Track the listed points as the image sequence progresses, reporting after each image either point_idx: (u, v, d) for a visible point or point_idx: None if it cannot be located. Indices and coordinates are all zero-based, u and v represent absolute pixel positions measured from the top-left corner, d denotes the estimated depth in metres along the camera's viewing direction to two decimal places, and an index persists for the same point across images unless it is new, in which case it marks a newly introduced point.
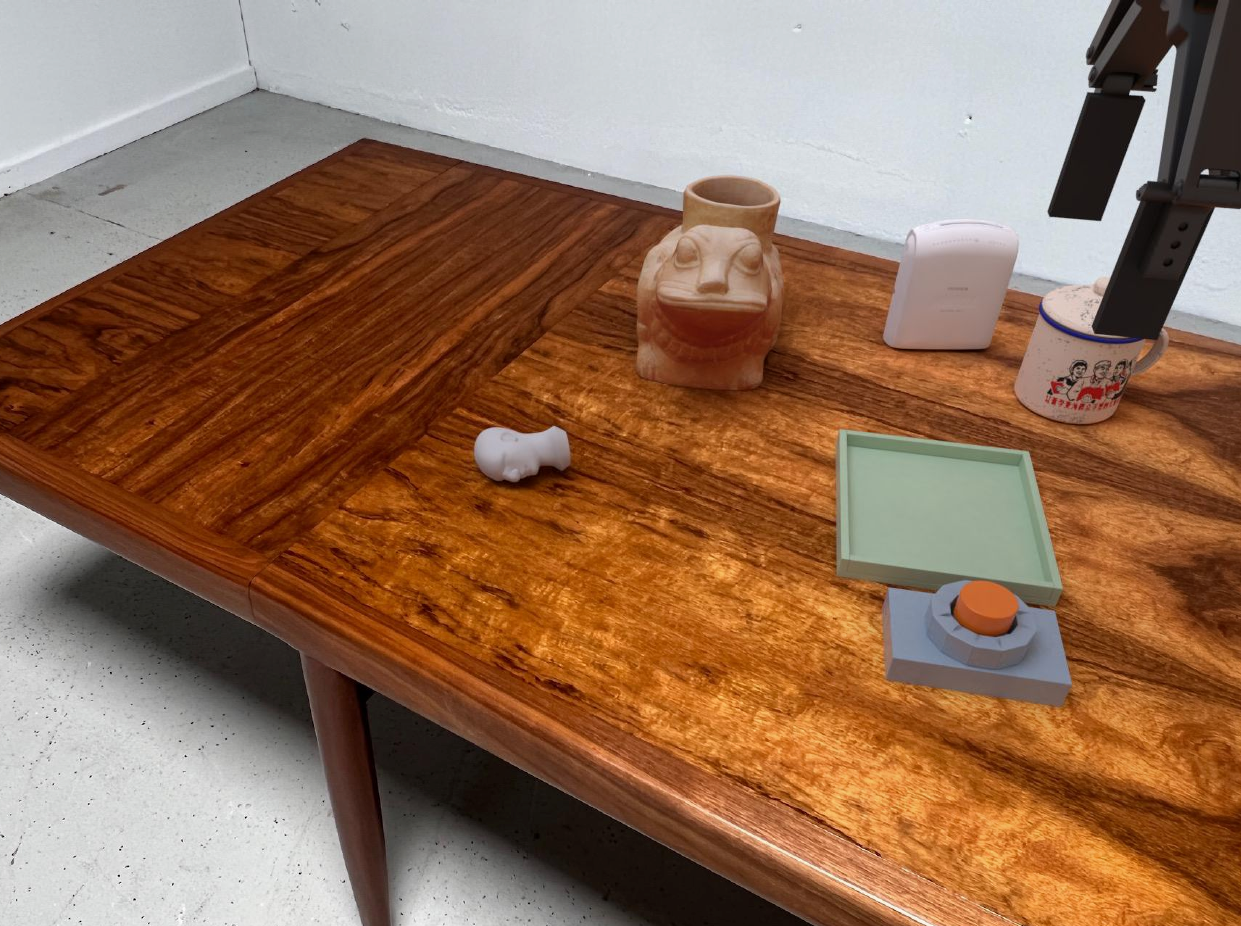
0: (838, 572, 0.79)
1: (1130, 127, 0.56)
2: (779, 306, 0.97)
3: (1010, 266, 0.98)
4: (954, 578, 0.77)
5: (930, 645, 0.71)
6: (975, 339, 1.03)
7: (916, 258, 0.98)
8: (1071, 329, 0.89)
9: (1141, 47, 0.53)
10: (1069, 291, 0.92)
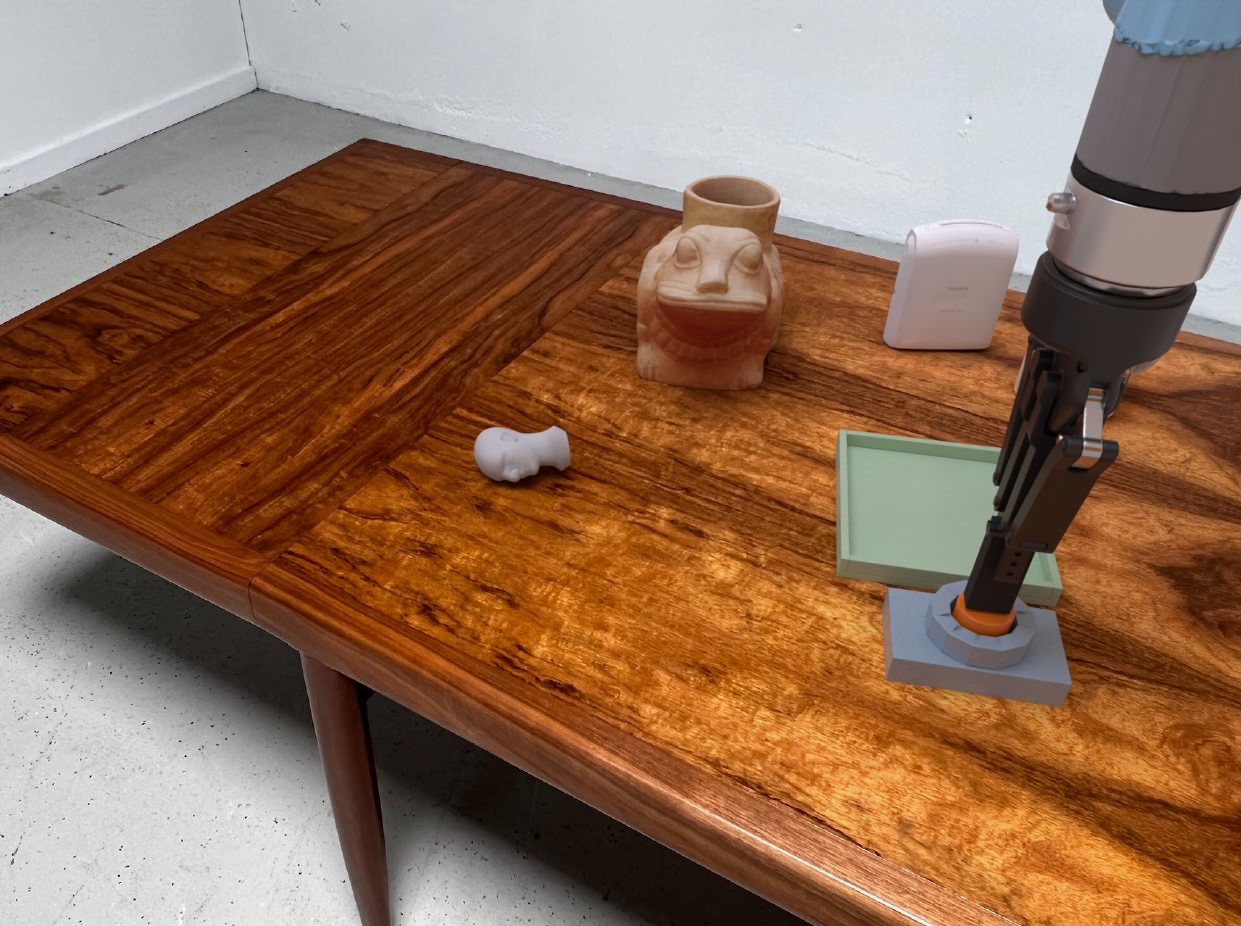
0: (838, 572, 0.79)
1: None
2: (779, 306, 0.97)
3: (1010, 266, 0.98)
4: (954, 578, 0.77)
5: (930, 645, 0.71)
6: (975, 339, 1.03)
7: (916, 258, 0.98)
8: None
9: None
10: None
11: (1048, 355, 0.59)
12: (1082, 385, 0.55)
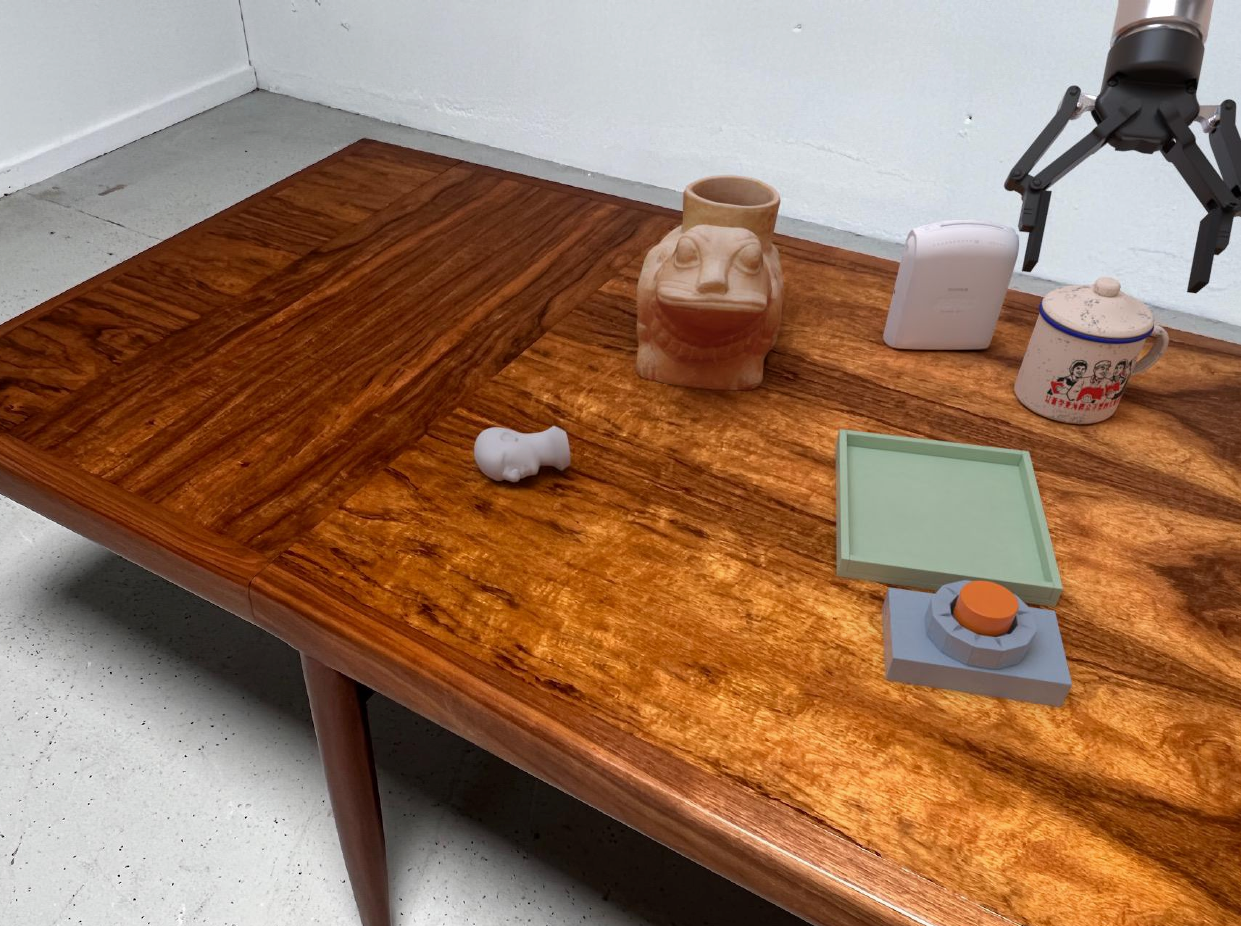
0: (838, 572, 0.79)
1: (1208, 225, 0.92)
2: (779, 306, 0.97)
3: (1010, 267, 0.98)
4: (954, 578, 0.77)
5: (930, 645, 0.71)
6: (975, 339, 1.03)
7: (916, 259, 0.98)
8: (1071, 329, 0.89)
9: (1195, 182, 0.94)
10: (1069, 291, 0.92)
11: None
12: None
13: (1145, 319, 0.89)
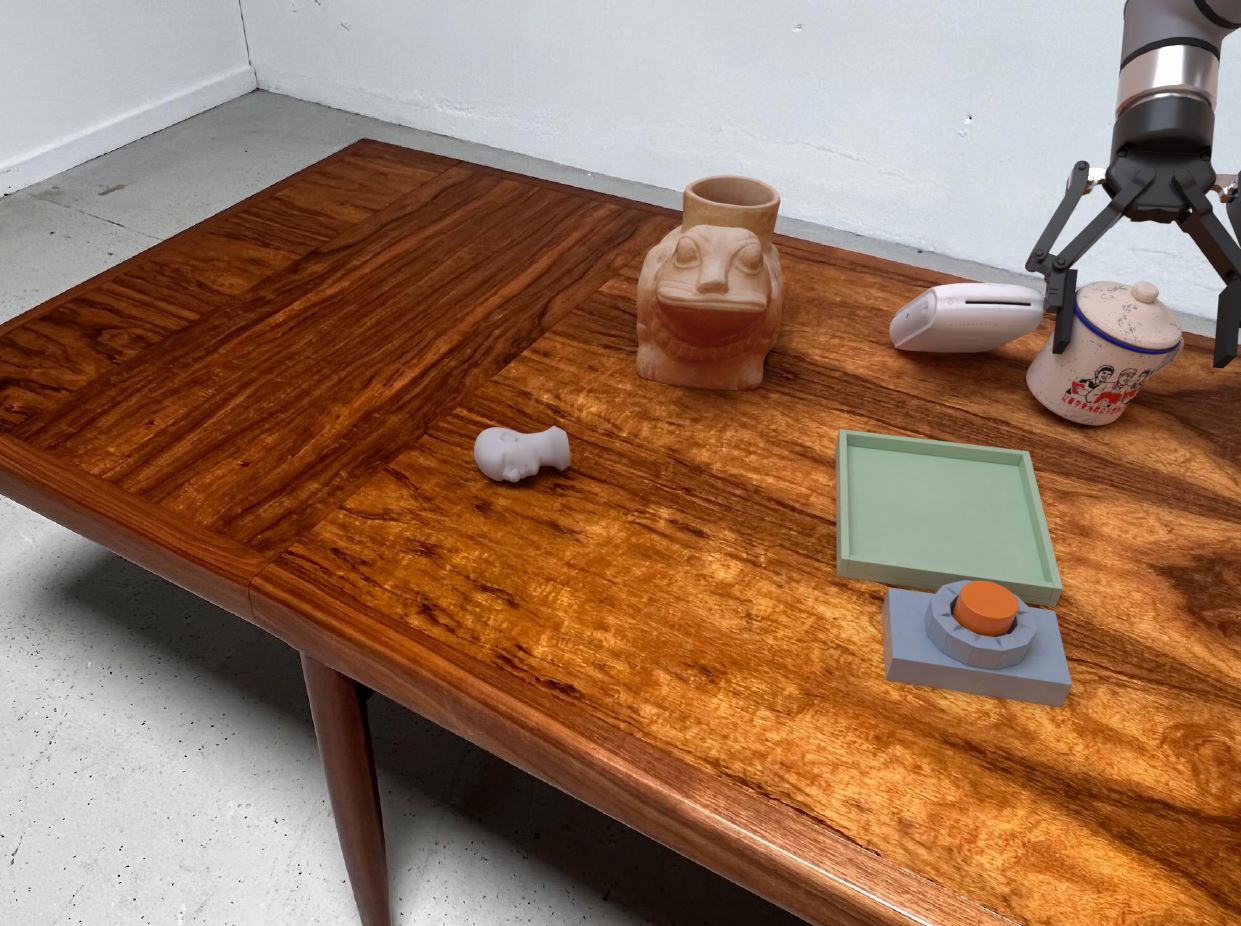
0: (838, 572, 0.79)
1: (1229, 297, 0.87)
2: (779, 306, 0.97)
3: (1026, 333, 0.95)
4: (954, 578, 0.77)
5: (930, 645, 0.71)
6: (977, 351, 1.02)
7: (930, 328, 0.94)
8: (1107, 334, 0.87)
9: (1212, 253, 0.89)
10: (1104, 290, 0.90)
11: None
12: None
13: (1176, 330, 0.88)
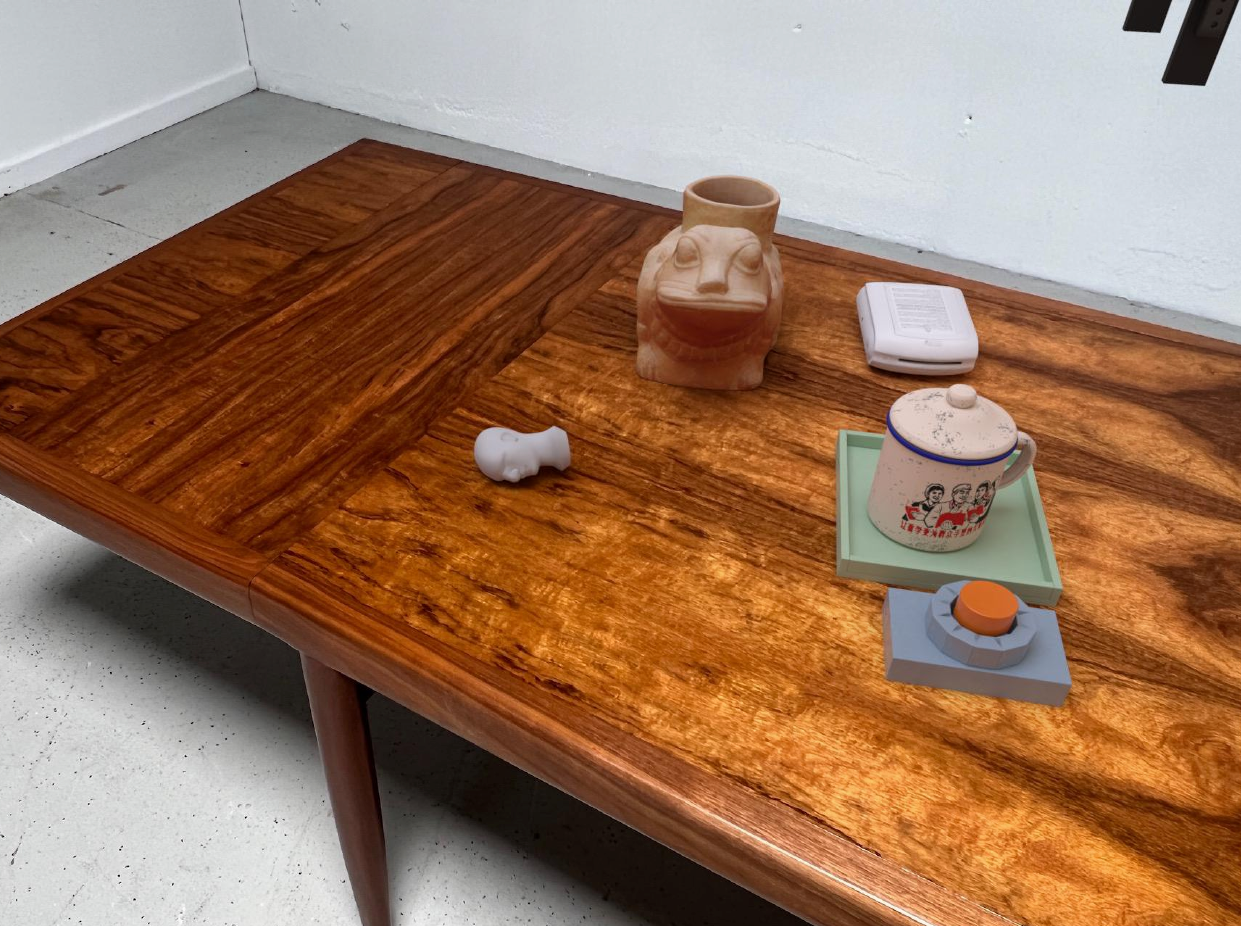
0: (838, 572, 0.79)
1: None
2: (779, 306, 0.97)
3: None
4: (954, 578, 0.77)
5: (930, 645, 0.71)
6: None
7: (868, 362, 1.02)
8: (923, 449, 0.75)
9: None
10: (919, 399, 0.78)
11: None
12: None
13: (1007, 433, 0.76)
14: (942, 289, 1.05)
